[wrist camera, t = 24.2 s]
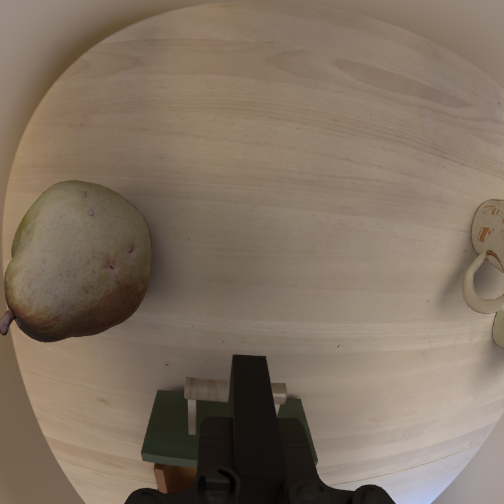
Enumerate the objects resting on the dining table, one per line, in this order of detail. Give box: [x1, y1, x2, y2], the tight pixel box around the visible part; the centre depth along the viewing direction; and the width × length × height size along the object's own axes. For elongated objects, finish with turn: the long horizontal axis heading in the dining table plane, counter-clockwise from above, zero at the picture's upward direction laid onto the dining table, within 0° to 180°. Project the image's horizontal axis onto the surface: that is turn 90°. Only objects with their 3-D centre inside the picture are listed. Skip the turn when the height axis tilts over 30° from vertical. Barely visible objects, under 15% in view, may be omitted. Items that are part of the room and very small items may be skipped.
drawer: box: [141, 377, 318, 494], centre depth 23 cm, size 20×13×8 cm, turn 174°
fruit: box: [0, 180, 152, 343], centre depth 16 cm, size 10×9×12 cm
